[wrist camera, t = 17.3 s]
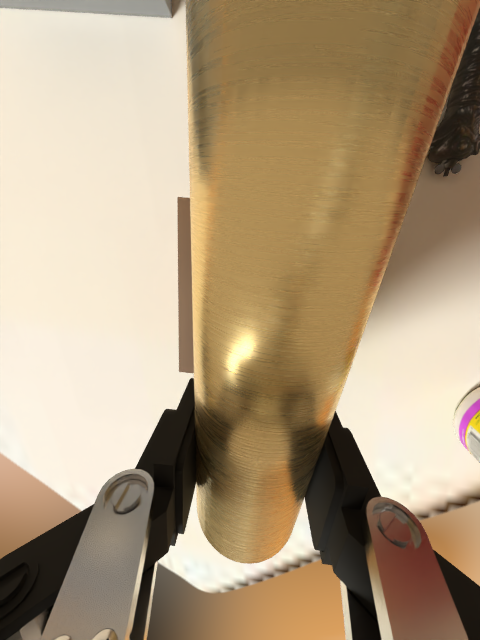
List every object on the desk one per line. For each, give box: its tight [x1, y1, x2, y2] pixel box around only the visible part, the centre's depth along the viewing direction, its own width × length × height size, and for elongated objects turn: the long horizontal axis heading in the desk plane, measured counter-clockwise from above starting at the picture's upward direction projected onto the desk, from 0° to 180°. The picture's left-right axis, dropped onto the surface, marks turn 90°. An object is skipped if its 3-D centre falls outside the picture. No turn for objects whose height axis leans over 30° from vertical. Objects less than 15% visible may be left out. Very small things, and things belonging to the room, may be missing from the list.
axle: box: [186, 0, 480, 563], centre depth 7 cm, size 14×4×4 cm, turn 176°
